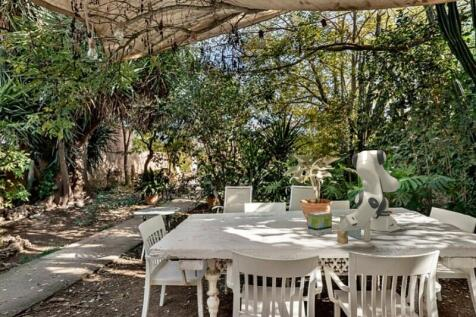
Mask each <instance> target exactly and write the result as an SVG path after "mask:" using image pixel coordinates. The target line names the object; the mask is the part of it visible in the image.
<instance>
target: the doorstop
mask: <svg viewBox="0 0 476 317" xmlns="http://www.w3.org/2000/svg"><path fill="white" fill-rule="evenodd" d="M336 234H337V235H336V237H337V241H336V243H337V244H341V245H347V244H349V236H348V231H345V233H344V234H342V233H341V230H340V229H338V230H336Z"/></svg>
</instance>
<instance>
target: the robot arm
mask: <svg viewBox="0 0 476 317" xmlns="http://www.w3.org/2000/svg"><path fill="white" fill-rule="evenodd" d="M351 161H352V163H351V164H353V167H354V168H356V174H357V176H358V177H359V178H360V179H362V182H361V183H362V187H363V189H364V190H360V191H359V192H357V194H356V195H355V197H354V204H355V207H356V208H357V209H356V210H355V211H354V212H352V213H350V214H347V215H345V216H346V217H345V218H346V219H344V220H343V221H342V222H341V223H340V222H339V225H338V228H339V230H341V233H342V234H344V233H345V231H348V230H352V231H353V232H356V231H357V230H359V229H361V230H364V228H366V227H367V226H368V224H369V223H370V230H372V231H377V232H390V233H391V232H394V231H398V230H401V227H400V226H398V222H397V220H396V219H395V218H393V217H392V216H391V215H392V214H393V210H389V200H388V199H387V197H386V196H385V193H393V192H396V191H397V190H398V188H399V187H400V186H399V185H400V184H399V180H398V179H397V178H396V177H393V176H392V175H391V174H389V173H388V172H387V171H386V170H385V168H384V165H385V163H386V161H387V155H386V153H385V151H384V150H382V149H377V150H362V151H361V152H357V153H353V155H352V157H351ZM370 221H371V222H370Z"/></svg>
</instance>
